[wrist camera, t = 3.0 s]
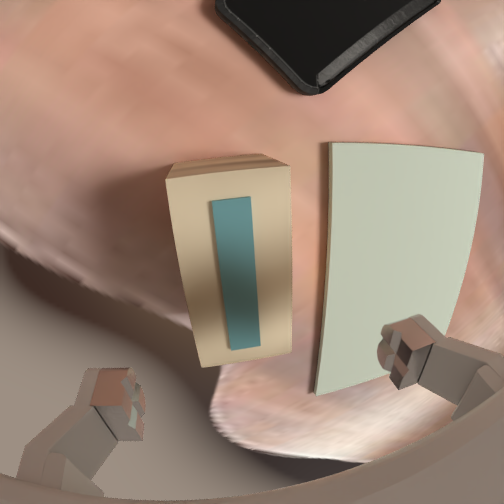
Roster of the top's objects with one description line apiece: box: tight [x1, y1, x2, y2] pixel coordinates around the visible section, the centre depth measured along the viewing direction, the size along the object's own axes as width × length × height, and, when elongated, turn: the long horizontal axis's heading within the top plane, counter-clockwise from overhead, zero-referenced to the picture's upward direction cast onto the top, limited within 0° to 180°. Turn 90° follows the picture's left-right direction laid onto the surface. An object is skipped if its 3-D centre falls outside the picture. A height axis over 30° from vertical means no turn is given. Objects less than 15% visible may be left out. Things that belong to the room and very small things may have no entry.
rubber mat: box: [314, 142, 484, 396], centre depth 20 cm, size 20×14×1 cm
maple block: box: [165, 154, 292, 368], centre depth 14 cm, size 9×4×5 cm, turn 4°
